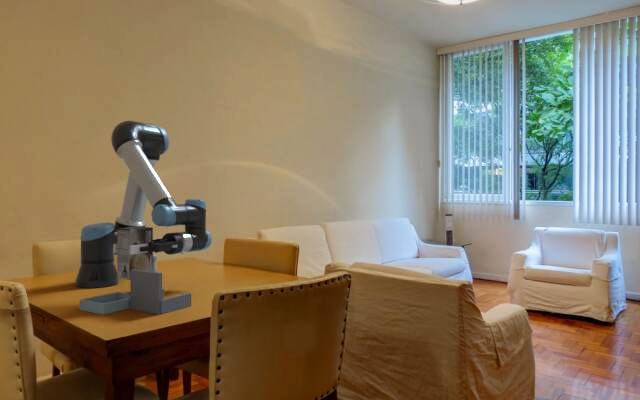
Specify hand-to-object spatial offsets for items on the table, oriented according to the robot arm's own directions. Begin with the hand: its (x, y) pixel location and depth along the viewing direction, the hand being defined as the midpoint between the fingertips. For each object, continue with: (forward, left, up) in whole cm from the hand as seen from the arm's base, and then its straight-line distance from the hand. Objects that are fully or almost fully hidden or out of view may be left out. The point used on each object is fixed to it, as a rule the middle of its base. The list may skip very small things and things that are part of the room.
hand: (122, 249), depth 146 cm
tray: (-1, -3, -18) cm, 18 cm away
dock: (+11, +6, -18) cm, 22 cm away
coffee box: (0, +5, -10) cm, 11 cm away
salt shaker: (-13, +22, -18) cm, 31 cm away
